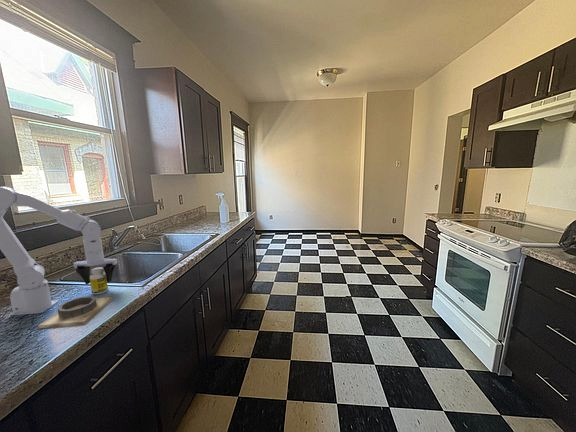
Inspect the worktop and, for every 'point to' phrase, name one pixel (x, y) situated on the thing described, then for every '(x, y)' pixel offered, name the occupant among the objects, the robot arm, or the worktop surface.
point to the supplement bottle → (98, 281)
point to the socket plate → (76, 319)
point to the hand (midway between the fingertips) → (98, 282)
